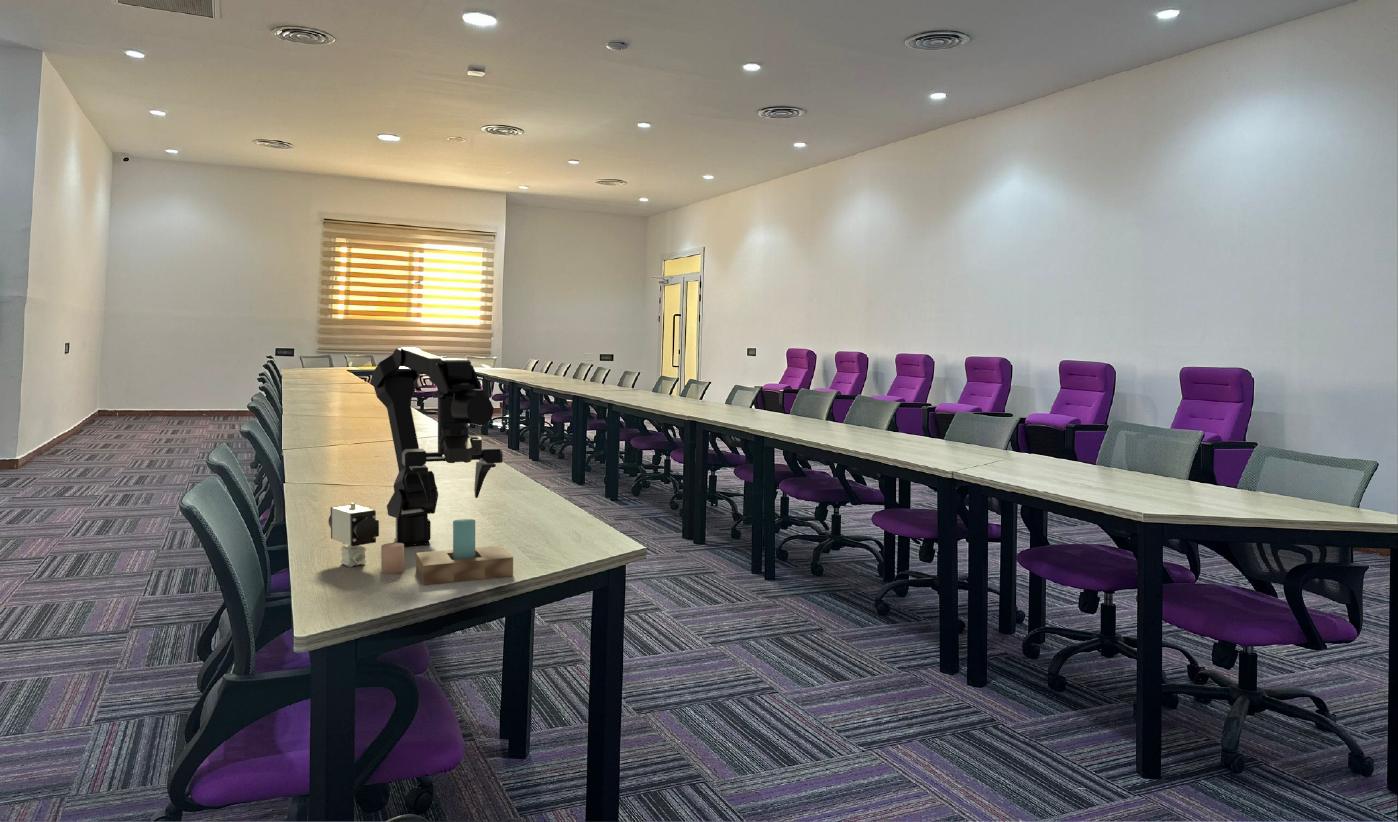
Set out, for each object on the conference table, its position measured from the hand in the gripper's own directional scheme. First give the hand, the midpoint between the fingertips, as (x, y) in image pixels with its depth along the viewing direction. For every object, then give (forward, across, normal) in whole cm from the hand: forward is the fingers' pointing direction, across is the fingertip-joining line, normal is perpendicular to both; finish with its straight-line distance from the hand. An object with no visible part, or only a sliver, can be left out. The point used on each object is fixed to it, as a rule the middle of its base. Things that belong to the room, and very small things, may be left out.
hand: (452, 499), depth 165 cm
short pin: (+12, -12, -6) cm, 18 cm away
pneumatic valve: (+12, -18, +2) cm, 22 cm away
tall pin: (+12, 0, -12) cm, 17 cm away
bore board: (+12, 0, -12) cm, 17 cm away
